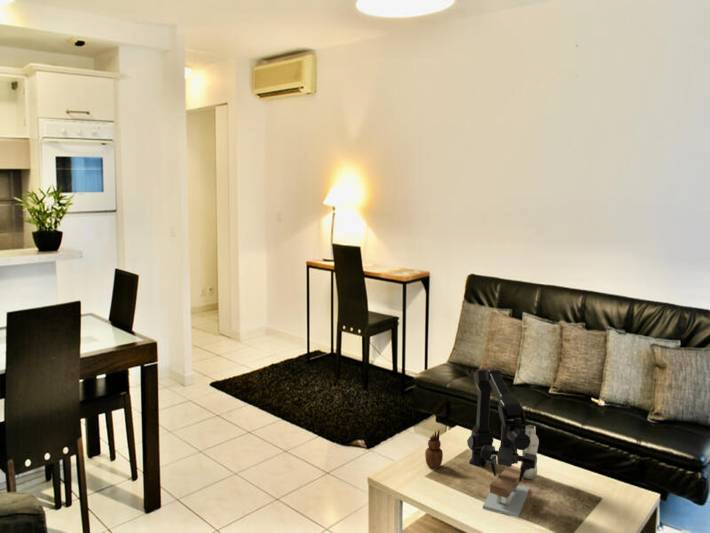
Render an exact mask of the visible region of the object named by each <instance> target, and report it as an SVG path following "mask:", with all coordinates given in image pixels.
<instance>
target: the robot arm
mask: <svg viewBox="0 0 710 533" xmlns="http://www.w3.org/2000/svg"><path fill="white" fill-rule="evenodd" d="M472 376H473V381H474V384H475V386H476V388H477V408H476V424H475V425H474V426H473V428H472V429H471V433H470V434H471V435H470V436H469V437H468V439H466V441H467V443H466V444H467V447H468V448H469V449H470V451H471V458H470V460H469V462H468V463H469V464H471V465H474V466H478V467H479V466H480V467H486V466H487V464H488V463H489V465H490V467H491V470H492V474H493V477H494V478H495V477H496V478H497V465H499V466H504V467H506V468H507V467H510V468H512V465H514V464H516V465H517V464H518V462H520V463H521V462H523V464H522V466H521V465H520V466H521V472H520V478H519V482H522V481H523V480H522V477H523V475H524V473H525V471H526V470H530V468H531V469H535V466H536V464H538V455H537V456H536V455H533V454H529V453H526V454H525V456H522V455H521V454H519V453H518V451H522V450H525V449H526V448H528V446H529V445H530V438H529V436H528V435H527V434H526V429H525V428H523V427H526V426H527V417H526V414H525V410H524V409H523V405H522V404H521V403H520V402H519V400H518V399H517V398H516V397H514V396H513V395H512V394H511V393H510V390H509V389H508V387H507V384H506V383H505V381H504V379H503V377H502V373H501V370H499V369H495V368H477V369H476V370H475V371H474V372H473V375H472ZM492 391H493V393H494V395H495V397H496V399H497V401H498V408H497V409H498V414H499V415H498V416H499V420H500V421H501V427H500V428H501V434H500V444H499V448H498V450H496V447H495V446H494V434H493V433H492V431H491V429H490V428H489V422H490V411H491V410H490V408H491V407H490V406H491V405H490V404H491V392H492ZM523 478H524V477H523ZM521 480H522V481H521Z"/></svg>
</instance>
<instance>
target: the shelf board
mask: <svg viewBox="0 0 710 533" xmlns="http://www.w3.org/2000/svg"><path fill="white" fill-rule="evenodd" d="M520 472H521V471H520V469H517V468H513V467H507V466H506V468H505V469H504V470H503V471H502V472H501V473H500V474H499V475H498V476H496V478H495V479H494V480H493V481H492V482H491V483H490V485H489V493H493V494H496V495H499V496H502V497H505V498H507V497H508V496H509V495H510V494H511V493H512V491H513V490H514V489H515V488H516V487H517V486H518V485H520V484H521V482H522V481H524V477H522V480H521V482H519V478H520ZM523 476H524V475H523Z"/></svg>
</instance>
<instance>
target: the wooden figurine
mask: <svg viewBox="0 0 710 533" xmlns="http://www.w3.org/2000/svg"><path fill="white" fill-rule="evenodd" d="M441 445H442V444H441V440H440V429H438V431H434V434H432V436H430V438H429V440H427V446H428V447H427V448H426V449H425V462H426V465H427V467H429V468H431V469H438V468H440V466H441V465H442V462H443V456H444V455H443V449H441Z"/></svg>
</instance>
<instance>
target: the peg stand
mask: <svg viewBox="0 0 710 533" xmlns="http://www.w3.org/2000/svg"><path fill="white" fill-rule="evenodd" d="M529 491H530V487H528V486H524V485H520V484H519V485H518V486H517V487H516V488H515V489H514V490H513V491H512V493H511V494H510V495H509V496H508V497H507V498H505V497H502V496H499V495H496V494H493V493H490V492H489V493H488V495H487V497H486V499H485V501H484V503H483V504H482V509H483V510H488V511H491V512H496V513H500V514H503V515H507V516H511V517H514V518H519V516H520V514H521V511H522V510H523V507H524V504H525V501H526V500H527V496H528V494H529Z"/></svg>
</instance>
